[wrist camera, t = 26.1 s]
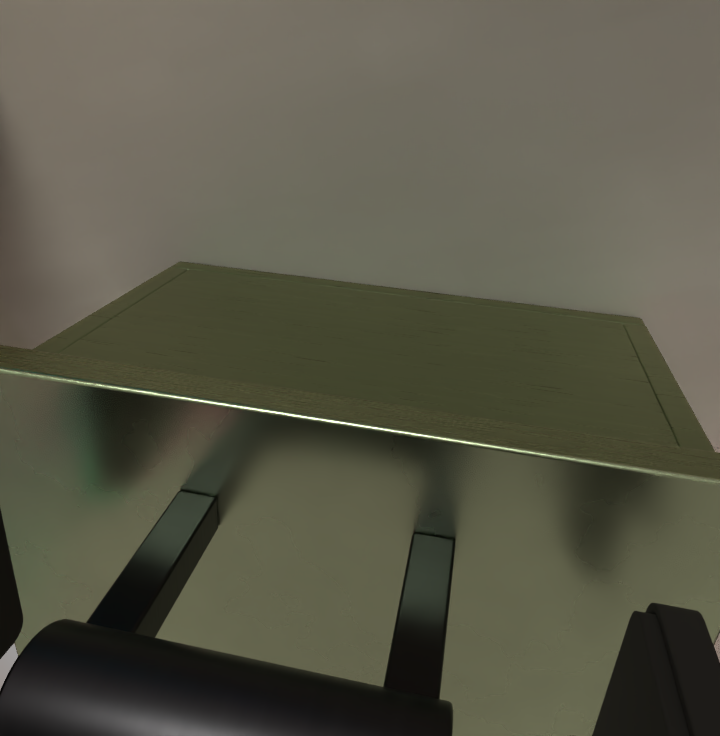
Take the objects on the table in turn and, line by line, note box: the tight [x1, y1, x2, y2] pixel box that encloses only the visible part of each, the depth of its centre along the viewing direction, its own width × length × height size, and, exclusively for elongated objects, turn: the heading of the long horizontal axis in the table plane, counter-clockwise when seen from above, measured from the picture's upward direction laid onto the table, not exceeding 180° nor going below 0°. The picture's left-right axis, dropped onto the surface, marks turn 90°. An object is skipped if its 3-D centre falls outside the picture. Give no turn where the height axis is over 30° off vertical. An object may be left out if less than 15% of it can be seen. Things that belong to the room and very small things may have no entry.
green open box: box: [32, 262, 715, 452], centre depth 18 cm, size 14×13×8 cm
